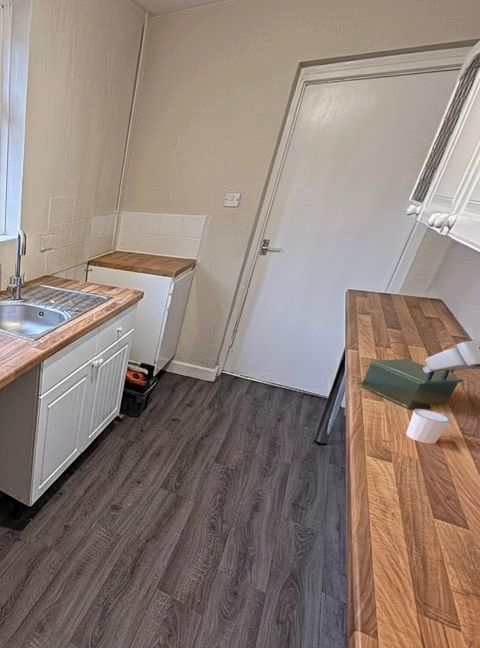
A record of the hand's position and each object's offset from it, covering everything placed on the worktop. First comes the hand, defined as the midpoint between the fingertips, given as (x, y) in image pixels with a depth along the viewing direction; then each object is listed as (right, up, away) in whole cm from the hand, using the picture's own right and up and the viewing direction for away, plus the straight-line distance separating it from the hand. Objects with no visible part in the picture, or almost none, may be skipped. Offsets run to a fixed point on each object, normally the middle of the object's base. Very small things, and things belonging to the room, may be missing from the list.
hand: (438, 369), depth 121 cm
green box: (-1, -9, +10) cm, 13 cm away
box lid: (-1, -1, +6) cm, 6 cm away
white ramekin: (-17, -18, -11) cm, 27 cm away
